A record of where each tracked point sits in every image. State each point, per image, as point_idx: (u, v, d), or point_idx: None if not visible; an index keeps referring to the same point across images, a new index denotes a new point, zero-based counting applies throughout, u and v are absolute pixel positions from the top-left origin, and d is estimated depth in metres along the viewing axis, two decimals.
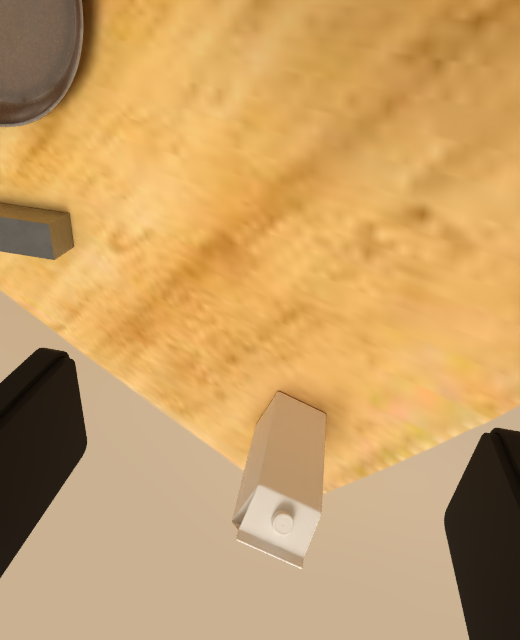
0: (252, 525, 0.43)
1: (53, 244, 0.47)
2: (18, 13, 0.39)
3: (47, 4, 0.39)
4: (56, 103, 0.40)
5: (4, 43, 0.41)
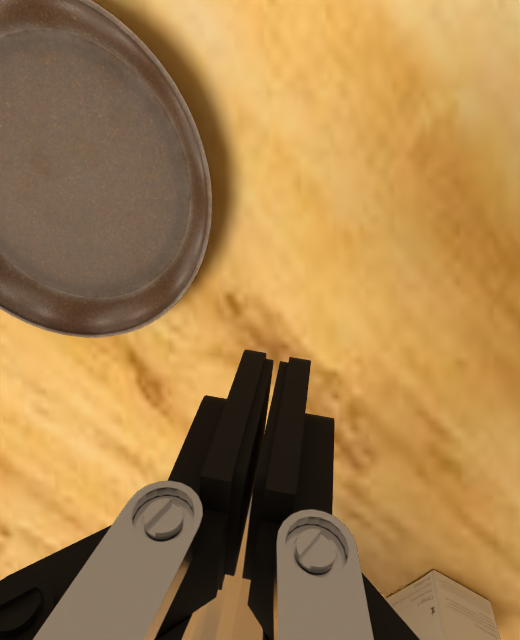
0: None
1: None
2: (60, 220, 0.30)
3: (77, 263, 0.31)
4: None
5: (22, 188, 0.29)
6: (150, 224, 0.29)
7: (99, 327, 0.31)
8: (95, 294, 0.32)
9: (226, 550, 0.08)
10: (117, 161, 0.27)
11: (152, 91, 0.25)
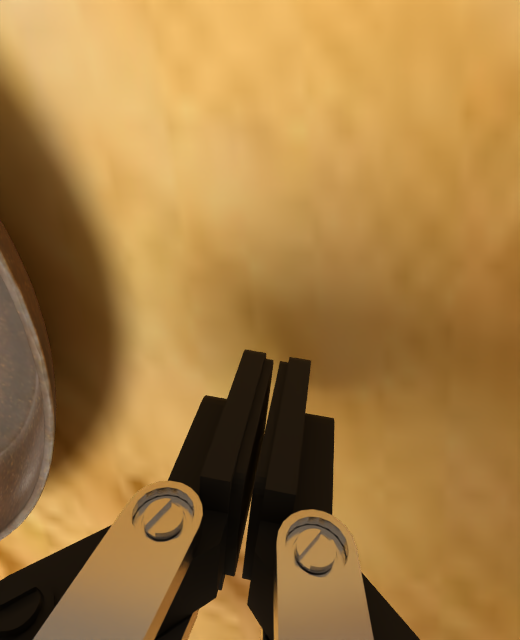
0: None
1: None
2: None
3: None
4: None
5: None
6: None
7: None
8: None
9: (226, 550, 0.08)
10: None
11: None
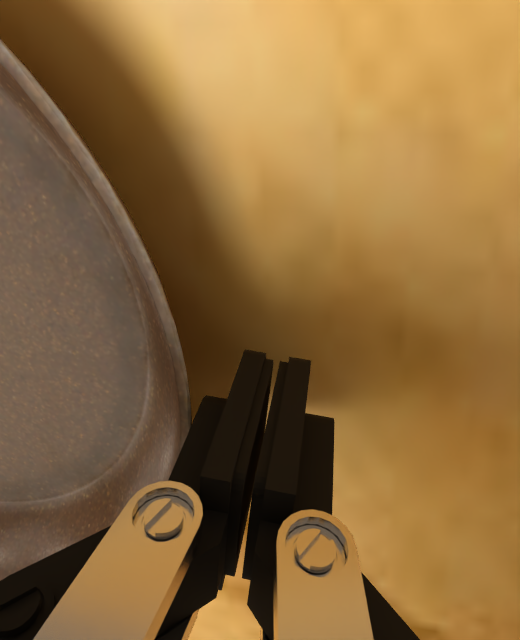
0: None
1: None
2: None
3: None
4: None
5: None
6: (68, 396, 0.14)
7: None
8: None
9: (226, 550, 0.08)
10: None
11: (35, 129, 0.10)
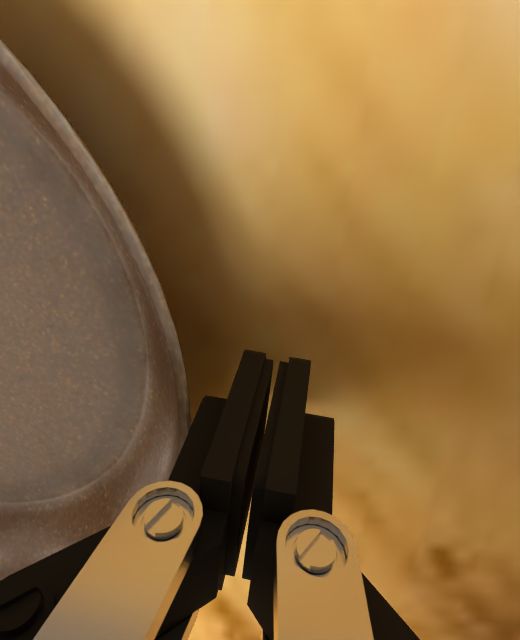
0: None
1: None
2: None
3: None
4: None
5: None
6: (66, 397, 0.14)
7: None
8: None
9: (226, 550, 0.08)
10: None
11: (37, 132, 0.10)
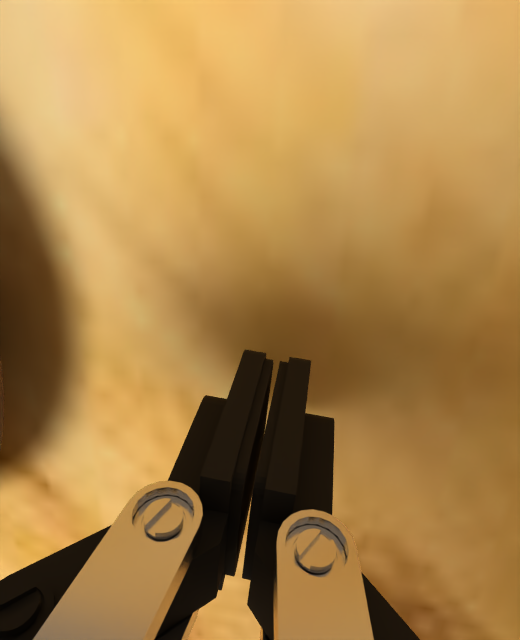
0: None
1: None
2: None
3: None
4: None
5: None
6: None
7: None
8: None
9: (226, 550, 0.08)
10: None
11: None
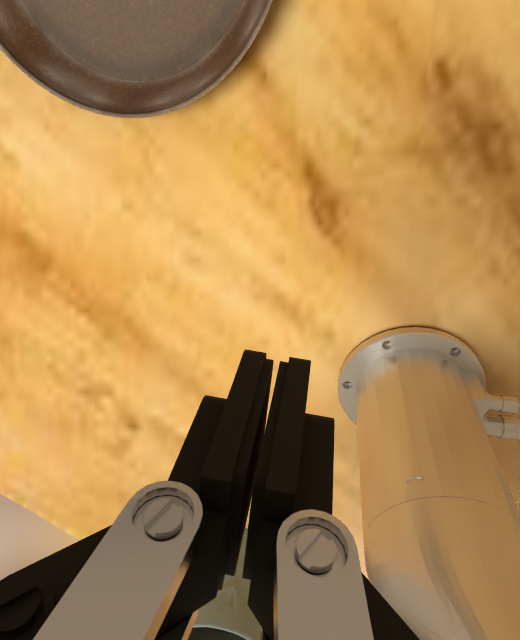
0: None
1: None
2: None
3: (131, 36, 0.28)
4: (4, 51, 0.28)
5: None
6: None
7: (159, 105, 0.29)
8: (151, 76, 0.29)
9: (226, 550, 0.08)
10: None
11: None
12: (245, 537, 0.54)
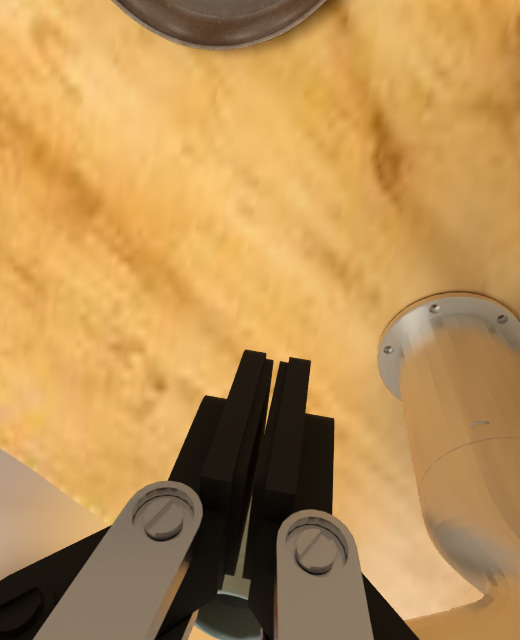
0: None
1: None
2: None
3: None
4: None
5: None
6: None
7: (240, 39, 0.29)
8: (231, 12, 0.30)
9: (226, 550, 0.08)
10: None
11: None
12: None
